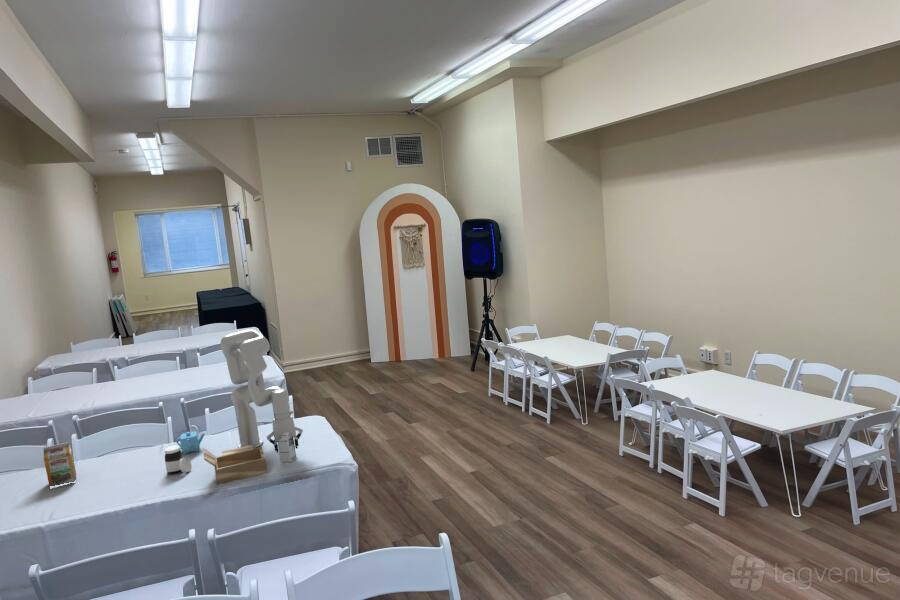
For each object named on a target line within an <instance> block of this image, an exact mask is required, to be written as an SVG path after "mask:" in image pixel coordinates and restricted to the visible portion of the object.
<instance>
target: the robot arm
mask: <svg viewBox="0 0 900 600" xmlns="http://www.w3.org/2000/svg"><path fill="white" fill-rule="evenodd" d="M219 343H220V349H221V351H222V354H223V356H224V358H225V360H226V364H227V369H228V374H229V379H230V381H231V383H232V384H234V385H236V386H237V385H240V386H238V387H237V388H235V389H233V390H232V391H231V394H230V399H231V402H232V405H233V408H234V411H235V412H234V413H235V416H236V417H235V418H236V422H237V431H238V438H239V443H238V444H237V448H240V447H245V446H249V445H252V447H253V449H255V448H259V447H262V445H263V443H264V440H263V439H261V438H260V435H259V430H258V429H259V428H258V422H257V414H256V410H255V409H254V407H252V406H251V404H252V403H254V405H256V406H257V407H265V406H267V405H271V404H272V405H271V406H272V411H273V419H272V432H271V433H270V434H268V435H267V436H266V439H267V441H268V442H269V443H271V444H272V445H273V447H274V451H275V452H276V453H277V454H279V448H278V440H281V439H282V433H289V436H290V438H291V437H293V439H294V445H295V449H298V448H299V439H300V437H301V436H302V434H303V432H304V431H303V429H302V428H300V427H298V426H297V427H296V426H295V422H294V419H293V414H294V411H293V410H290V402H289V396H288V395H289V394H288V391H287V390H286V389H284V388H281V387H279V386H278V385H273V386H271V387H267V388H266V385H265V381H264V375H263V373H264V372H265V371H266V369H267V367H268V365H267V362H266V361H265V358H264V357H263V354H266V353H268V352H269V351H270V349H271V345H270V343H269V340H268V338H266V337H265V336H264V335H263V334H261V333H259V332H258V331H256V330H254V329H249V328H248V329H246V330H245V329H244V330H241V331H240V330H239V331H237V332H232V333H229V334H226V335H224V336H223V337H222V338H221V339H220V342H219ZM246 383H247V384H246ZM241 384H244V385H242V386H241ZM297 432H298V433H297ZM272 438H274V439H272Z"/></svg>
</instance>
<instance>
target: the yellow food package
mask: <svg viewBox="0 0 900 600" xmlns="http://www.w3.org/2000/svg"><path fill="white" fill-rule="evenodd" d="M42 449H43V462H44V467H45V472H46V477H47V480H48V486H49V488H50V486H55V485H60V484H64V483H69V482H74V481H75V480H76V481H77V477H76V475H77V471H76V466H75V461H74V456H73V449H72V447H71V445H70V442H63V443H59V444H53V445H50V446H44V447H43V448H42Z"/></svg>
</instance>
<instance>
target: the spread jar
mask: <svg viewBox="0 0 900 600" xmlns="http://www.w3.org/2000/svg"><path fill="white" fill-rule="evenodd" d="M180 448H181V447H180V446H179V445H178V444H177V445H171V446H167V447H166V448H164V465H165V468H166V469H165V471H166V473H167V474H168V475H175V474H176V475H177V474H179V473H185V474H186V473H188V472H191V470H192V467H193V466H192V461H191V460H190V459H189V458H187V457H184V456H183V454H184V453H182V450H181V449H180Z"/></svg>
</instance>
